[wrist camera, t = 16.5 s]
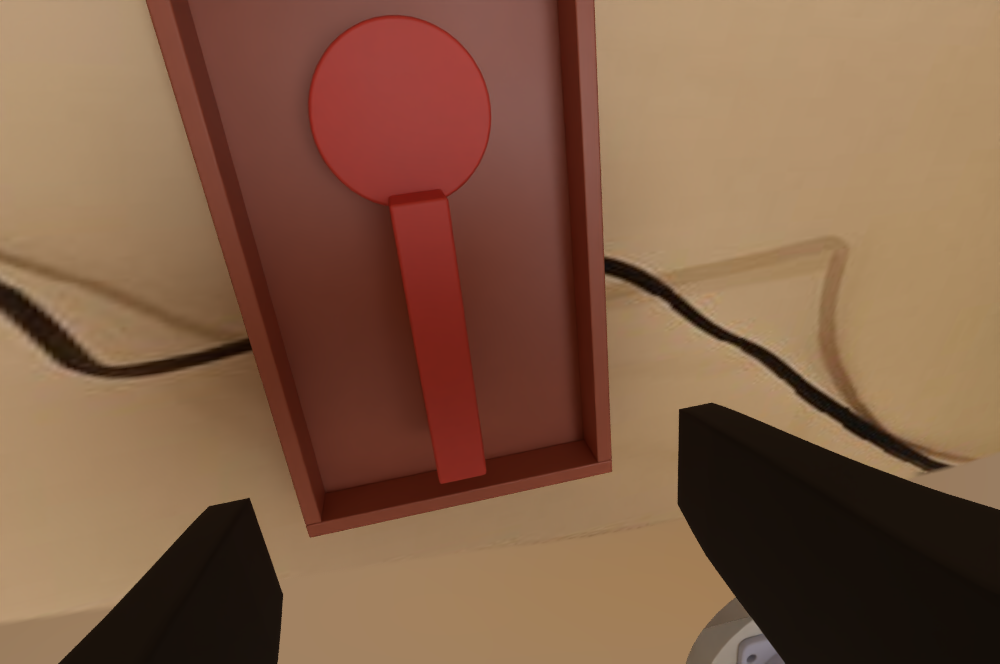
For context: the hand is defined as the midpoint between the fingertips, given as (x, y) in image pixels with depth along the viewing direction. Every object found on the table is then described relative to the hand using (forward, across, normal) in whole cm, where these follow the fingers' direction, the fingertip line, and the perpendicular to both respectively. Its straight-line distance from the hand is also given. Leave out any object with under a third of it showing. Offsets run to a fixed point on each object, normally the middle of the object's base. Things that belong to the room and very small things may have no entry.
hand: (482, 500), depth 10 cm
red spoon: (+9, 0, -2) cm, 9 cm away
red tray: (+9, 0, -2) cm, 10 cm away
